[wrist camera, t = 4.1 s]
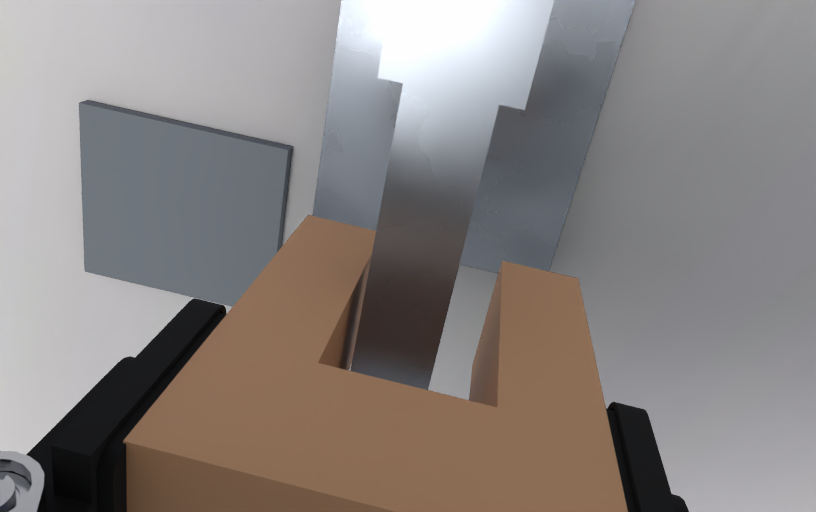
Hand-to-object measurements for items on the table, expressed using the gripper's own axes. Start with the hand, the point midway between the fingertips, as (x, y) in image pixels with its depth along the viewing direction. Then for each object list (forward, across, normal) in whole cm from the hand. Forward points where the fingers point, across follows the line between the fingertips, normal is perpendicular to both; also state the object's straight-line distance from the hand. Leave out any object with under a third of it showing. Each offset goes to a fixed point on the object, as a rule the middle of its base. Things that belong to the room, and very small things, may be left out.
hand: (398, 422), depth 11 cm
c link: (+5, 0, 0) cm, 5 cm away
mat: (+16, +12, +5) cm, 20 cm away
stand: (+16, +1, -2) cm, 16 cm away
